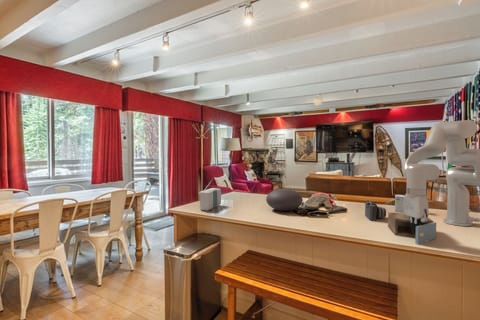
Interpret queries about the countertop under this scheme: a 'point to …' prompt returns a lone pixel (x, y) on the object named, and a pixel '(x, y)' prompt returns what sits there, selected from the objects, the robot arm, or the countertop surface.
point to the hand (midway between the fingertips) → (415, 231)
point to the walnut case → (402, 224)
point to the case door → (425, 232)
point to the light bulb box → (399, 203)
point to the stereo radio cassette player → (210, 198)
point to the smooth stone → (284, 199)
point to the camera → (374, 211)
